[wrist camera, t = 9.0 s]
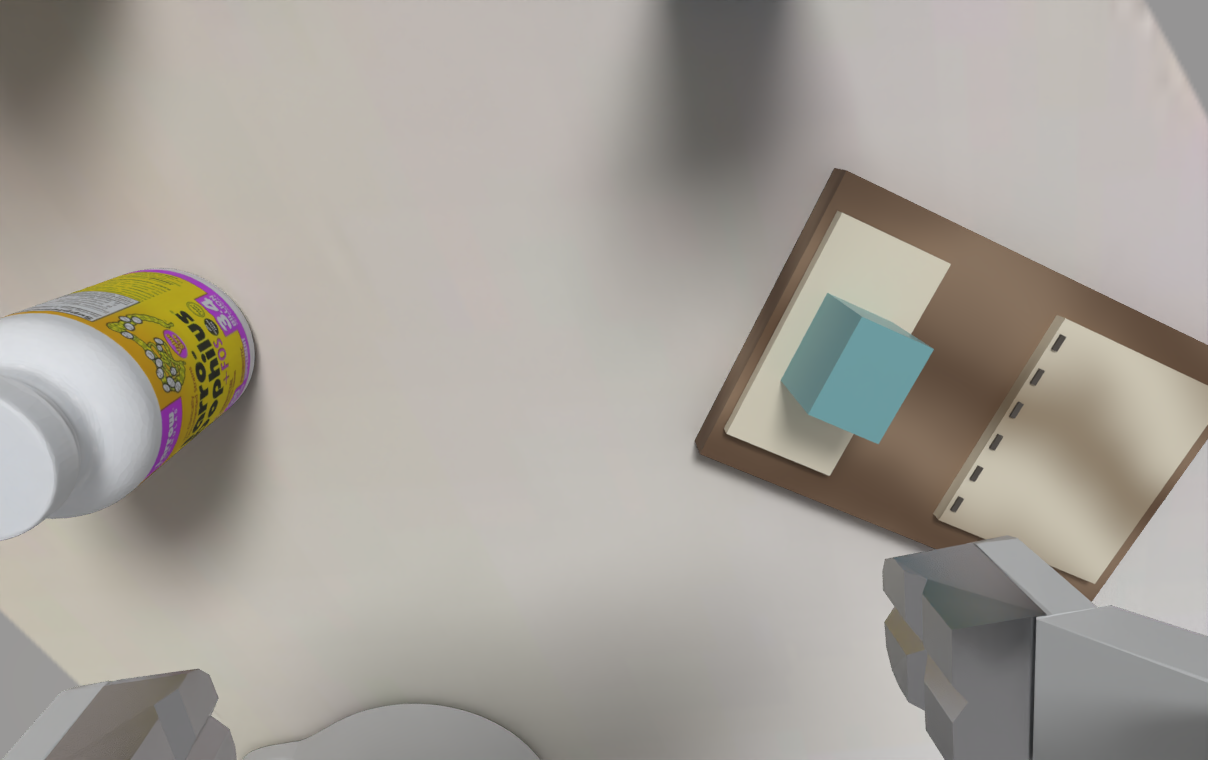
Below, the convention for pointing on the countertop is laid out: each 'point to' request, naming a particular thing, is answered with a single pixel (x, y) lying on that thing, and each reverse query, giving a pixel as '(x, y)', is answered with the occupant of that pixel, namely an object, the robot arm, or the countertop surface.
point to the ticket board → (999, 403)
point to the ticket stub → (841, 348)
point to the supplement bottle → (111, 389)
